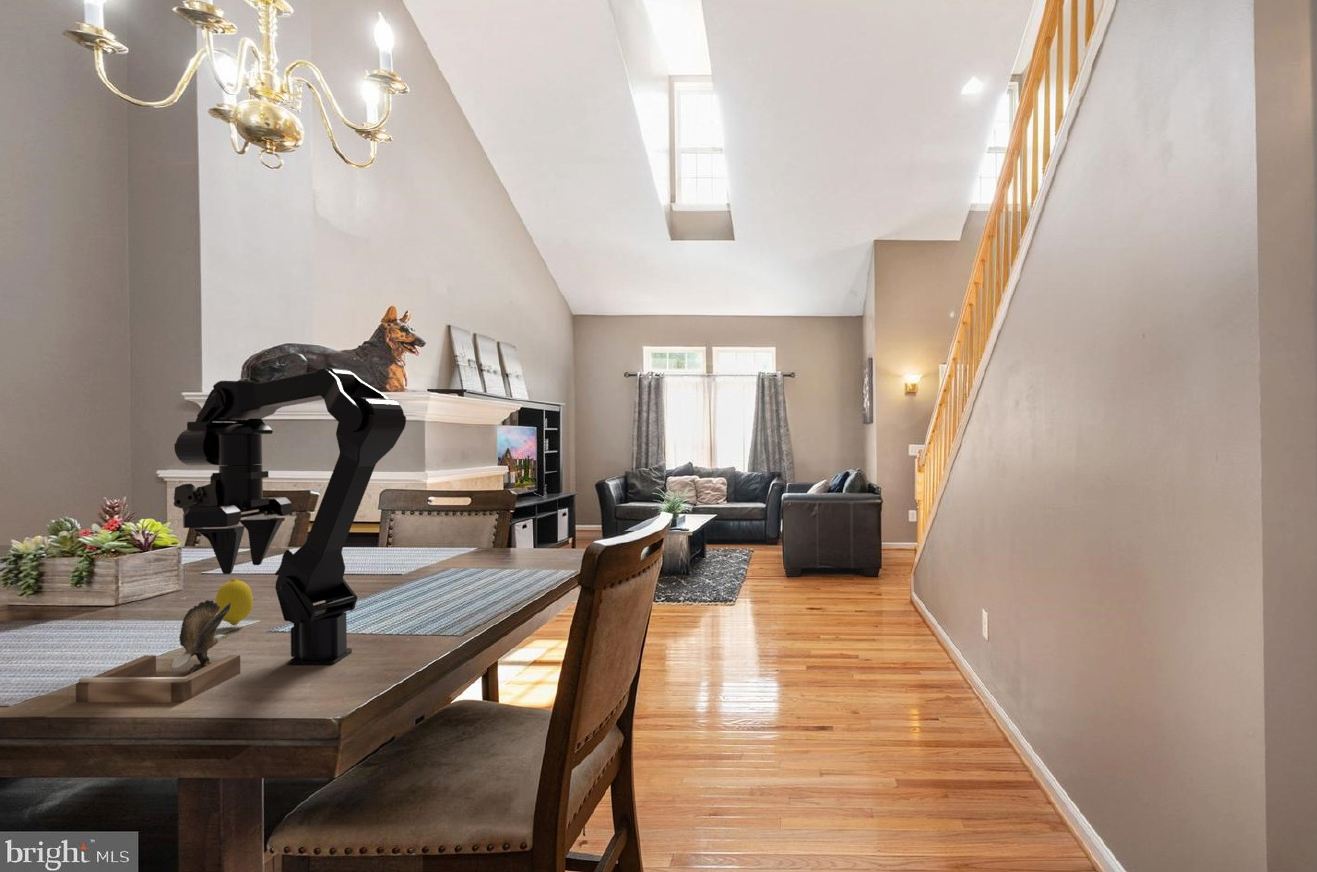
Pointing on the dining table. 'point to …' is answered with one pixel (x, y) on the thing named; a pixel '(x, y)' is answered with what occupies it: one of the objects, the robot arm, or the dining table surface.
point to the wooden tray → (153, 682)
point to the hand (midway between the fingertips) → (242, 569)
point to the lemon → (235, 600)
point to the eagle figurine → (200, 633)
